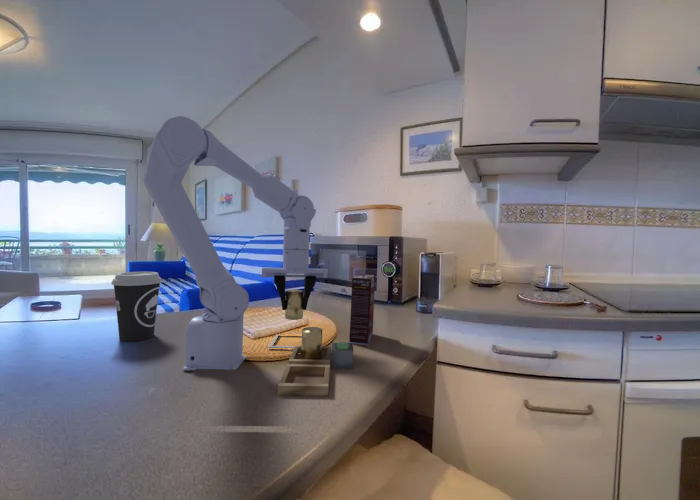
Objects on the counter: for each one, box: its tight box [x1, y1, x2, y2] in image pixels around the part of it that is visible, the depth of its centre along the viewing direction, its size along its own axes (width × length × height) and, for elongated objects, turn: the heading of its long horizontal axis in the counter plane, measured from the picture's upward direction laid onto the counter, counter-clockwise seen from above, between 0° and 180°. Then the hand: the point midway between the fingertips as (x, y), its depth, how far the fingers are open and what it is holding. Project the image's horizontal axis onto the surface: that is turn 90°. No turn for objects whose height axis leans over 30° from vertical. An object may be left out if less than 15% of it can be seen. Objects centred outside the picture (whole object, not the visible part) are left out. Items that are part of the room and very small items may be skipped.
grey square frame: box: [267, 332, 301, 349], centre depth 66 cm, size 9×9×1 cm
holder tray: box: [276, 345, 332, 397], centre depth 52 cm, size 8×17×2 cm, turn 2°
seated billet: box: [300, 326, 323, 360], centre depth 56 cm, size 4×4×6 cm
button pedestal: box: [331, 342, 354, 370], centre depth 55 cm, size 4×4×4 cm
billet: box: [284, 289, 304, 321], centre depth 65 cm, size 4×4×6 cm
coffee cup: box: [111, 271, 163, 343], centre depth 67 cm, size 10×10×15 cm
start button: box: [336, 341, 349, 349], centre depth 55 cm, size 2×2×4 cm
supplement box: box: [348, 273, 376, 346], centre depth 70 cm, size 9×5×16 cm, turn 168°
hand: (294, 308), depth 65 cm, fingers closed on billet, 4 cm apart
